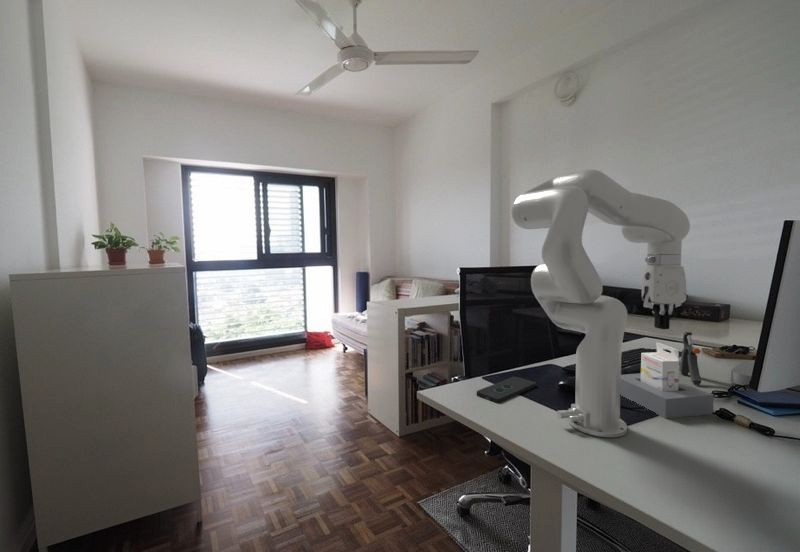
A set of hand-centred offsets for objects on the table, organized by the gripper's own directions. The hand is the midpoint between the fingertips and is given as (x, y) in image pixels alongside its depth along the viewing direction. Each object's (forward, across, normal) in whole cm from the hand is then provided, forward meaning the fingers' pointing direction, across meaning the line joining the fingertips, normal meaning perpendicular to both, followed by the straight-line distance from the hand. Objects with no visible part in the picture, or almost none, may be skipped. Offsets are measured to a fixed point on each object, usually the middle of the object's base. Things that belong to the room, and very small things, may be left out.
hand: (661, 328), depth 101 cm
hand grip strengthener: (+21, +24, +13) cm, 34 cm away
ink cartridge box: (+20, 0, 0) cm, 20 cm away
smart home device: (+21, -37, +16) cm, 46 cm away
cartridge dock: (+21, 0, 0) cm, 21 cm away
